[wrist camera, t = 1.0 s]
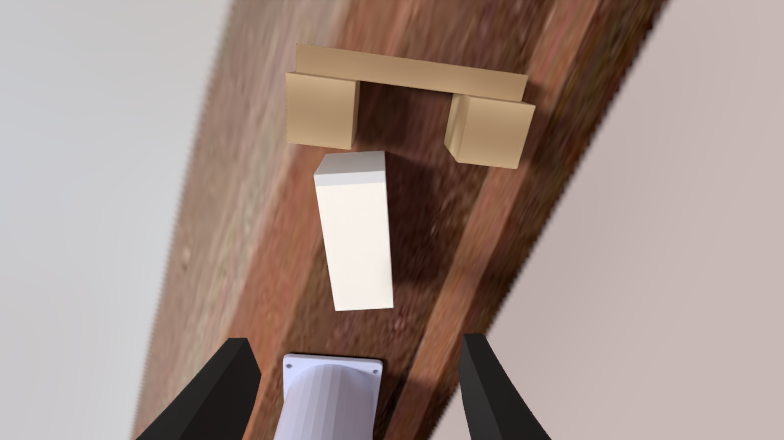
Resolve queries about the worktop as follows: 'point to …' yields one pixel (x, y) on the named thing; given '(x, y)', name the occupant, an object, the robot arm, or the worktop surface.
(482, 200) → the worktop surface
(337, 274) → the white block
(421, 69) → the tan bridge
